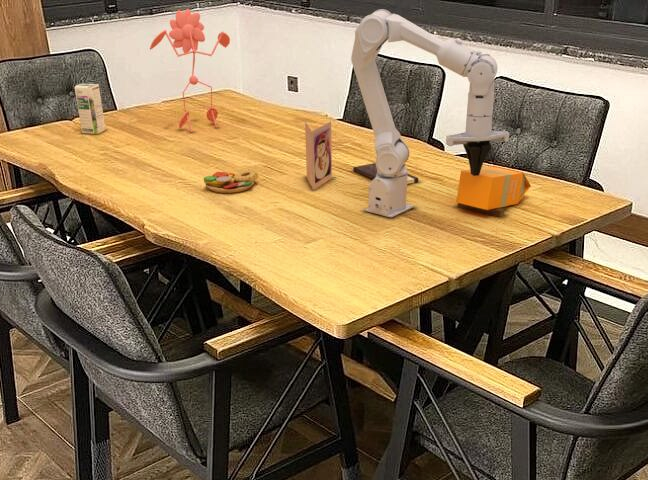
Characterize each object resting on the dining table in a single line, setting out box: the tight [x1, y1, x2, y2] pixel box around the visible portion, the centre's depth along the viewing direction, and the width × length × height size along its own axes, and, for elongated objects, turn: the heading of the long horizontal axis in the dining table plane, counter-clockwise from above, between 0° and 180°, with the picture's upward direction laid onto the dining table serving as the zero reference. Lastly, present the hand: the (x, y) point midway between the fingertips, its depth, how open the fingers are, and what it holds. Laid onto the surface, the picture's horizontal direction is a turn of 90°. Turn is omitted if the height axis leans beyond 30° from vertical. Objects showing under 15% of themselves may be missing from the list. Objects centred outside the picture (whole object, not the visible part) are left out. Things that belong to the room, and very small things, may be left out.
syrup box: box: [74, 83, 107, 135], centre depth 267 cm, size 6×6×14 cm
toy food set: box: [203, 169, 259, 194], centre depth 220 cm, size 13×13×3 cm
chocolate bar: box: [353, 162, 419, 185], centre depth 226 cm, size 9×1×18 cm
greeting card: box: [304, 120, 333, 191], centre depth 218 cm, size 11×7×15 cm, turn 155°
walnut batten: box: [457, 203, 506, 218], centre depth 202 cm, size 2×12×2 cm, turn 50°
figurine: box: [149, 8, 234, 133], centre depth 266 cm, size 15×26×35 cm, turn 125°
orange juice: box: [455, 165, 532, 210], centre depth 204 cm, size 8×9×20 cm
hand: (474, 174), depth 194 cm, fingers closed
